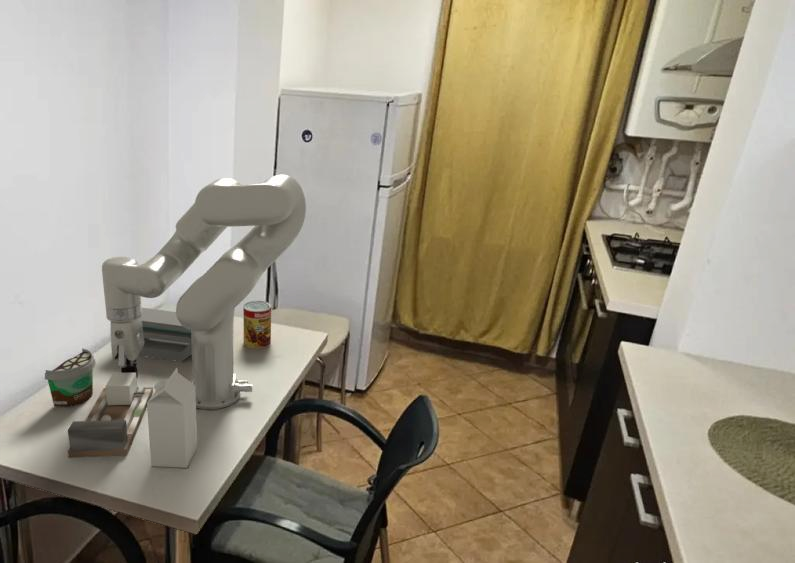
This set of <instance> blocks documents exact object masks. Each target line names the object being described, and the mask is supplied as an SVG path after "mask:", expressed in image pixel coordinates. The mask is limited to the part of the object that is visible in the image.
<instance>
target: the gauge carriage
mask: <svg viewBox="0 0 795 563" xmlns="http://www.w3.org/2000/svg"><path fill="white" fill-rule="evenodd" d="M105 388H106V396H107V405H131V404H132V402H133V399H134V397H135V395H136V394H145V392H137V388H138V380H137V379H136V373H121V372H112V374H111V376H110V378H109V379H108V381H107V383H106V385H105Z"/></svg>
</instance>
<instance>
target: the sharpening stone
mask: <svg viewBox="0 0 795 563" xmlns="http://www.w3.org/2000/svg"><path fill="white" fill-rule="evenodd" d="M141 320H142V326H143V334H144V346H143V348H142V350H141V351H140V353H139V355H138V356H140V357H142V356H148V357H147V358H149V357H154V358H153V359H157V358H161V359H160V360H164V359H169V360H168V361H171V360H176V361H175V362H179V361H181V362H183V361H184V360H186V358H188V357H189V356H192V349H191V330H189V329H187V328H185V327H184V326H182V325H181V323H180V322H179V320H178V318H177V315H176V311H172V310H170V311H169V310H164V309H163V310H162V309H155V308H147V307H142V316H141Z"/></svg>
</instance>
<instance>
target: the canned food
mask: <svg viewBox="0 0 795 563" xmlns="http://www.w3.org/2000/svg"><path fill="white" fill-rule="evenodd" d="M242 310H243V311H242V312H243V345H244V346H245V347H246V348H248V349H253V350H255V349H256V350H258V349H259V350H260V349H261V350H262V349H264V348H267V347H270V345H271V341H272V340H271V339H272V337H271V336H272V304H271V303H269V301H265V300H264V301H263V300H250V301H248V302H245V303H244V304H243V309H242Z"/></svg>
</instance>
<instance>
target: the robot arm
mask: <svg viewBox="0 0 795 563" xmlns="http://www.w3.org/2000/svg"><path fill="white" fill-rule="evenodd" d="M302 188H303V187H301V185H300V184H299V182H298V181H297V180H296V179H295V178H293V177H292V176H290V175H287V174H276V175H273V176H271V177H269V178H267V179H266V180H264V181H263V183H256V184H241V183H240V182H238V181H237V180H235V179H233V178H230V177H222V178H218V179H215V180H214V181H212V182H210V183H209V184H207V185H205V186H204V187H203V188H201V189H200V190H199V192H197V195H196V197H195V201H194V203H193V204H192V205H191V206H190V207H189V209H188V210H187V211H186V212H185V213H184V214H183V215H182V216H181V217H180V218H179V219H178V220H177V222H176V224H175V231H174V234H173V235H172V236H171V238H169V240H168V241H167V242H166V243H165V244H164V245H163V246H162V247H161V249H160V250H159V251H158V252H157V253H156V254H155V255H154V256H153V257H151V258H149V259H148V260H147V261H146V262H144V263H142V264H139V263H138V262H137V260H136V259H135V258H132V257H129V256H128V257H126V256H117V257H111V258H107V259H106V260H104V262H103V263H102V265H101V273H102V274H101V275H102V284H103V294H104V304H105V315H106V317H105V318H106V320H108V321H110V344H111V345H110V347H111V355H112V359H113V361H117V360H118V368H120V373H136V379H137V378H138V376H139V374H138V363H137V358H138V357H139V356H140V355H139V353H140V351H141V350H142V348H143V346H144V334H143V326H142V320H141V316H142V308H143V306H142V298H146V299H155V298H157V297H160V296H162V295H163V294H164V293H166V291H167V290H168V289H169V288H170V287H171V286H172V285H173V284H174V283H176V282H177V280H178V279H180V278H181V276H182V275H183V274H184V273H185V272H186V271H187V270H188V269H189V268H190V267H191V265H192V264H193V263H195V261H196V260H197V259H198V258H199V257H200V256H201V254H203V253H204V252H206V251H207V250H208V249H209V247H210V246H212V244H213V243H214V242H215V241H216V240H217V239H218V238H219V236H221V234H223V232H224V231H225V230H226V229H227V228H228V227H252V226H253V227H252V228H251V230H250V231H249V232H248V233H247V234H246V235H245V236H244V237H243V238H241V239H240V241H238V242H237V243H236V244H235V245H234V246H233V247H231V248H230V249H228V250H227V251H225V252H224V253H223V254H222V256H220V257H219V258H218V260H216V261H215V262H214V264H212V266H211V267H209V269H207V271H206V272H205V273H203V274H202V275H201V276H199V277H198V278H197V279H196V280H194V282H192V283H191V284H190V286H189V287H188V288H187V289H186V290H185V291H184V292H183V293H182V295H181V296H180V297H179V299H178V301H177V302H176V307H175V308H176V309H175V312H176V315H177V318H178V320H179V322H180V323H181V325H182V326H184V327H185V328H187V329H189V330H191V349H192V354H191V365H192V368H191V371H192V372H191V373H192V374H191V375H192V384H193V385H194V386H195V395H196V409H200V410H218V409H222V408H226V407H228V406H231V405H233V404H235V403H236V402H237V401H238V399H239V398H240V396H241V393H243V392H245V393H246V392H247V393H250V392H251V393H252V392H253V383H249V379H242V380H241V379H238V378H237V375H236V373H234V321H235V317H234V316H235V308H237V306H239V305H240V304H241V302H242V301H243V302H244V300H245V299H246V298H247V297H248V295H249V294H251V292H252V291H253V289H254V288H255V287H256V285H257V284H258V282H259V281H260V279H261V277H262V275H264V273H265V272H266V271H267V269H268V268H269V267H271V266H272V265H273V264H274V262H276V261H277V260H278V259H279V258H280V256H282V254H284V252H285V251H286V250H288V248H289V247H291V245H292V244H293V242H294V241H295V240H296V238H297V237H298V235H299V234H300V232H301V230H302V228H303V226H304V222H305V219H306V213H307V211H306V210H307V204H306V203H307V202H306V197H305V194H304V191H303V189H302Z"/></svg>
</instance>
